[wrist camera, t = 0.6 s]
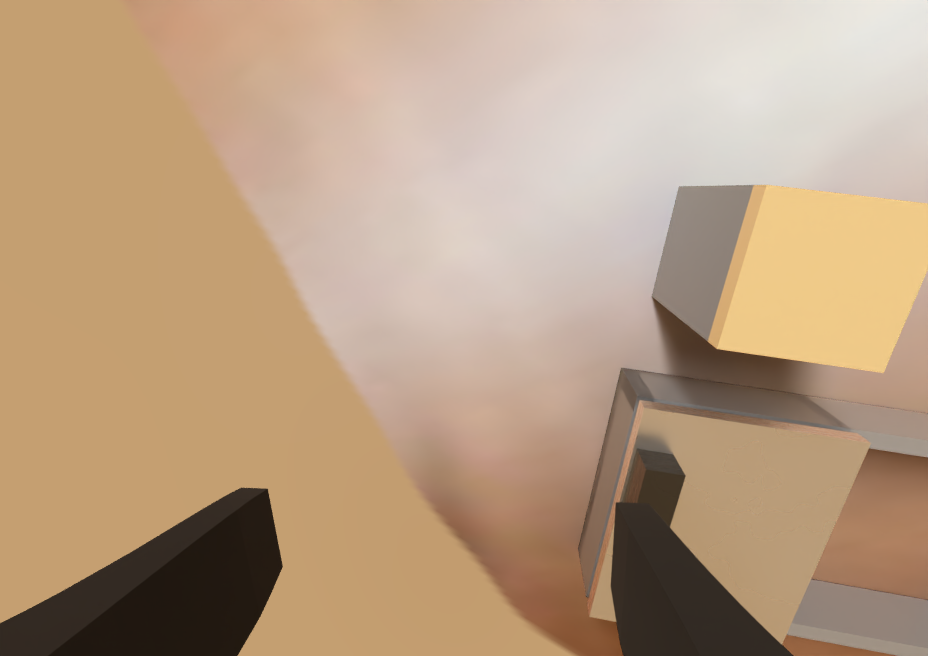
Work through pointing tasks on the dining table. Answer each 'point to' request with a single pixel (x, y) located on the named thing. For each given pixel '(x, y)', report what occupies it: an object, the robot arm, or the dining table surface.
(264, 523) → the robot arm
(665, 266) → the block
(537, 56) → the dining table surface
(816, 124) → the dining table surface
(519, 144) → the dining table surface
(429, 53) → the dining table surface
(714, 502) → the lid
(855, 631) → the case
